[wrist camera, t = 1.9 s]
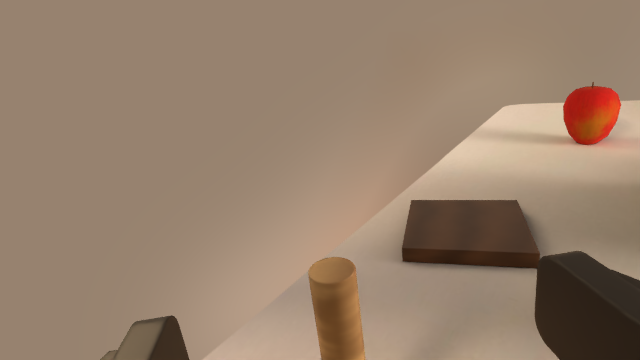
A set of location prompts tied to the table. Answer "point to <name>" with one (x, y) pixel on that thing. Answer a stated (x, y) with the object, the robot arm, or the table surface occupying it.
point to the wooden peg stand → (337, 309)
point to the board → (469, 233)
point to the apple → (591, 113)
